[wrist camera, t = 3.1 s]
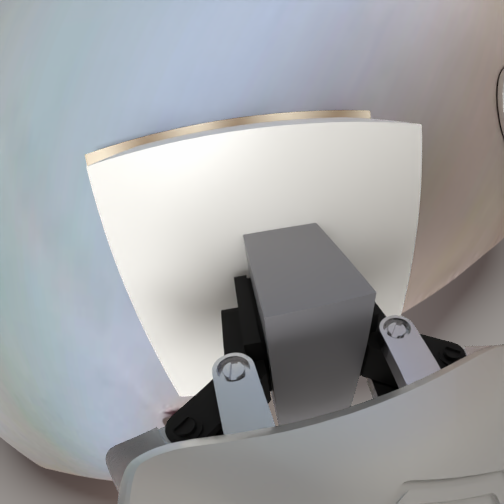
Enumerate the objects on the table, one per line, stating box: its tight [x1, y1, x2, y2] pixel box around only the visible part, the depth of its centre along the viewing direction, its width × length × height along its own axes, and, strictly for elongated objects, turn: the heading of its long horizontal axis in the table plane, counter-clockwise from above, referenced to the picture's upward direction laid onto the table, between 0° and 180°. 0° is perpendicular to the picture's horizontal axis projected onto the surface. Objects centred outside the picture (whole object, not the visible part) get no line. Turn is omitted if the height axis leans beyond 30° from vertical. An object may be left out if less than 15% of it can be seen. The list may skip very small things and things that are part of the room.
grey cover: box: [87, 117, 422, 425], centre depth 14 cm, size 14×14×13 cm
